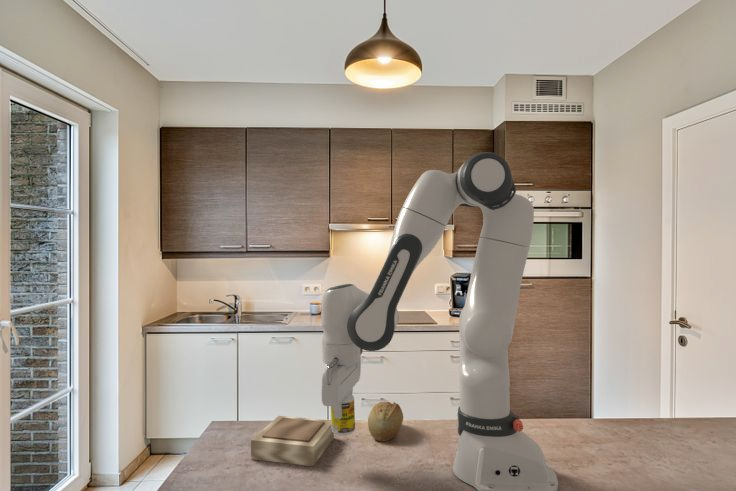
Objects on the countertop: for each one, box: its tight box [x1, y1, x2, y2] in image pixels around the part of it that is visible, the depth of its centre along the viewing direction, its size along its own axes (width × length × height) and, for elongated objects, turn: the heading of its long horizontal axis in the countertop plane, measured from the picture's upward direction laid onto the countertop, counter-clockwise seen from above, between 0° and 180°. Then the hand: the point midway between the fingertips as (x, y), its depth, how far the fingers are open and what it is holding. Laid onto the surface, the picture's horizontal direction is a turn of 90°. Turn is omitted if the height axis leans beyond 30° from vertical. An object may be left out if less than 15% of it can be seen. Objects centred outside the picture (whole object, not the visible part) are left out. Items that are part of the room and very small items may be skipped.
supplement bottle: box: [330, 389, 356, 436], centre depth 106 cm, size 6×6×10 cm
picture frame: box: [250, 415, 335, 467], centre depth 115 cm, size 16×16×5 cm
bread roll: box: [367, 401, 404, 442], centre depth 125 cm, size 10×15×8 cm, turn 172°
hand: (343, 412), depth 106 cm, fingers closed on supplement bottle, 6 cm apart
